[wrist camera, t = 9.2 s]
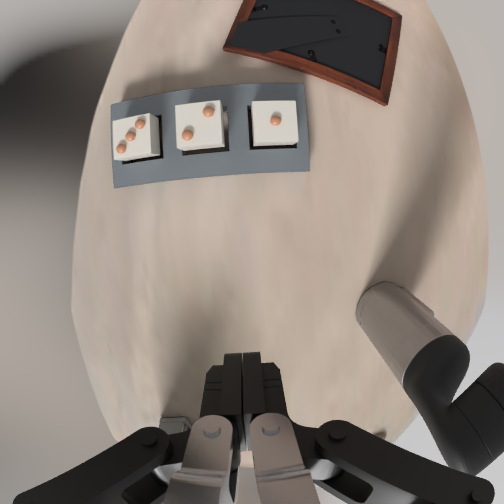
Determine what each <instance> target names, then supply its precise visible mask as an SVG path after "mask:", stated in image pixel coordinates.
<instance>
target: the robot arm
mask: <svg viewBox="0 0 504 504" xmlns="http://www.w3.org/2000/svg"><path fill="white" fill-rule="evenodd" d="M356 318H357V321H358V323H359V325H360V326H361V328H362V329H363V330H364V332H365V333H366V335H367V336H368V338H369V339H370V340H371V342H372V343H373V345H374V346H375V348H376V349H377V350H378V352H379V353H380V355H381V356H382V358H383V359H384V361H385V362H386V363H387V365H388V366H389V368H390V369H391V371H392V372H393V374H394V375H395V377H396V378H397V379H398V381H399V382H400V384H401V385H402V387H403V388H404V390H405V392H406V393H407V395H408V396H409V397H410V399H411V400H412V402H413V403H414V405H415V406H416V408H417V409H418V411H419V413H420V414H421V416H422V417H423V419H424V421H425V423H426V425H427V426H428V428H429V430H430V432H431V434H432V436H433V438H434V440H435V442H436V444H437V446H438V448H439V450H440V452H441V454H442V456H443V457H444V460H445V461H446V463H447V464H448V466H449V467H447V466H444V465H441V464H439V463H436V462H433V461H431V460H429V459H426V458H424V457H421V456H419V455H416V454H414V453H412V452H409V451H407V450H405V449H402V448H400V447H398V446H396V445H394V444H392V443H389V442H387V441H385V440H383V439H381V438H379V437H377V436H375V435H373V434H371V433H369V432H367V431H365V430H363V429H361V428H359V427H357V426H355V425H353V424H351V423H349V422H347V421H343V420H332V421H329V422H326V423H324V424H323V425H321V426H320V427H319V428H312V427H304V426H301V425H298V424H296V423H295V422H293V421H292V420H291V419H290V418H289V416H288V413H287V407H286V402H285V396H284V391H283V385H282V380H281V374H280V369H279V368H278V367H277V366H276V365H275V364H274V363H273V362H272V363H261V357H260V352H249V353H243V360H242V353H231V354H224V363H223V365H217V366H212V367H211V368H210V370H209V371H208V372H207V374H206V380H205V386H204V393H203V399H202V406H201V412H200V418H199V419H198V420H197V421H196V422H195V423H194V424H193V426H192V428H191V429H189V430H187V431H184V432H180V433H175V434H169V435H168V434H167V433H166V432H165V431H164V430H162V429H160V428H157V427H145V428H142V429H139V430H138V431H136V432H134V433H133V434H131V435H130V436H128V437H126V438H125V439H123V440H122V441H120V442H118V443H117V444H115V445H113V446H112V447H110V448H108V449H107V450H105V451H103V452H101V453H100V454H98V455H96V456H95V457H93V458H91V459H89V460H87V461H86V462H84V463H82V464H80V465H79V466H76V467H75V468H73V469H71V470H69V471H67V472H65V473H63V474H61V475H59V476H57V477H55V478H53V479H51V480H49V481H47V482H45V483H43V484H41V485H38V486H36V487H34V488H32V489H30V490H27V491H25V492H23V493H21V494H19V495H17V496H16V498H15V499H14V501H13V504H161V503H162V502H163V504H236V503H237V493H238V482H239V472H240V451H246V438H247V445H248V451H250V450H252V453H253V461H254V469H255V476H256V482H257V488H258V495H259V501H260V504H320V501H319V498H318V495H317V492H316V489H315V485H314V483H315V484H317V485H318V486H320V487H321V488H323V489H324V490H326V491H327V492H329V493H331V494H332V495H334V496H336V497H337V498H339V499H341V500H342V501H344V502H346V503H348V504H491V503H492V501H493V499H494V494H495V492H494V487H493V485H492V484H491V483H490V482H489V481H488V480H486V479H483V478H480V477H476V476H475V475H477V474H478V473H479V472H481V471H482V470H483V469H484V468H486V467H487V466H488V465H489V464H491V463H492V462H493V461H494V460H495V459H496V458H497V457H498V456H499V455H501V454H502V453H503V452H504V364H502V363H494V364H492V365H491V366H490V367H488V368H487V370H485V371H484V372H483V373H482V374H481V375H480V376H479V377H478V378H477V379H476V380H475V382H473V383H472V384H471V385H470V386H469V387H468V388H467V389H466V390H465V391H464V392H463V393H462V394H461V395H460V396H459V397H458V398H457V399H456V400H454V401H453V403H452V400H453V397H454V395H455V393H456V391H457V389H458V387H459V385H460V384H461V382H462V380H463V378H464V376H465V374H466V372H467V370H468V367H469V362H470V354H469V350H468V348H467V346H466V345H465V344H464V343H463V342H462V341H461V340H460V339H459V338H457V337H456V336H455V335H454V334H453V333H452V332H451V331H450V330H449V329H447V328H446V327H445V326H444V325H443V324H442V323H440V322H439V321H438V320H437V319H436V318H435V317H434V312H433V311H432V310H431V309H430V308H429V307H427V306H426V305H425V304H424V303H422V302H421V301H420V300H419V299H418V298H416V297H415V296H414V295H413V294H411V293H410V292H409V291H408V290H406V289H405V288H399V287H398V286H396V285H395V284H393V283H389V282H383V283H379V284H376V285H374V286H372V287H371V288H370V289H368V290H367V291H366V292H365V293H364V294H363V296H362V297H361V299H360V300H359V303H358V305H357V309H356Z"/></svg>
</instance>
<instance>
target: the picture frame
mask: <svg viewBox="0 0 504 504" xmlns="http://www.w3.org/2000/svg"><path fill="white" fill-rule="evenodd" d="M401 21H402V16H401V15H400V14H398V13H396V12H394V11H392V10H390V9H389V8H387V7H385V6H383V5H381V4H379V3H377V2H375V1H373V0H244V1H243V3H242V5H241V7H240V9H239V12H238V14H237V16H236V18H235V21H234V23H233V25H232V27H231V30H230V32H229V35H228V37H227V39H226V42H225V44H224V47H223V50H224V51H226V52H231V53H236V54H240V55H245V56H249V57H253V58H257V59H261V60H265V61H269V62H272V63H276V64H279V65H283V66H286V67H289V68H292V69H295V70H298V71H302V72H304V73H307V74H310V75H313V76H316V77H319V78H321V79H324V80H327V81H329V82H332V83H334V84H337V85H339V86H342V87H344V88H346V89H349V90H351V91H353V92H356V93H358V94H360V95H362V96H364V97H367V98H369V99H371V100H373V101H375V102H377V103H379V104H381V105H383V106H386V105H388V101H389V97H390V92H391V86H392V81H393V76H394V70H395V64H396V58H397V52H398V45H399V38H400V30H401Z"/></svg>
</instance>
